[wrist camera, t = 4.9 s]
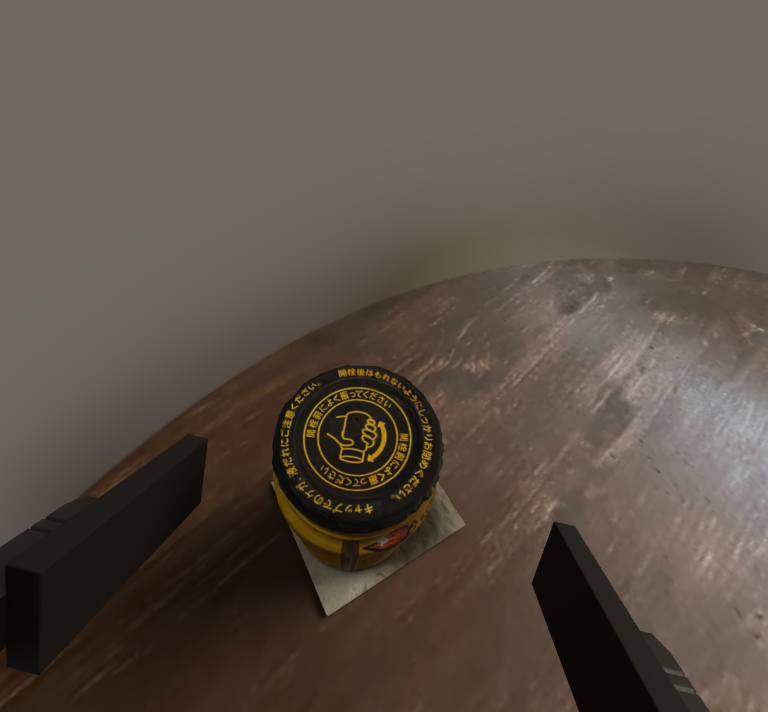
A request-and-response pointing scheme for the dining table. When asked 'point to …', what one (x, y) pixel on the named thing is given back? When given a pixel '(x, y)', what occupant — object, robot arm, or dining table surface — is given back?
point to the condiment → (360, 478)
